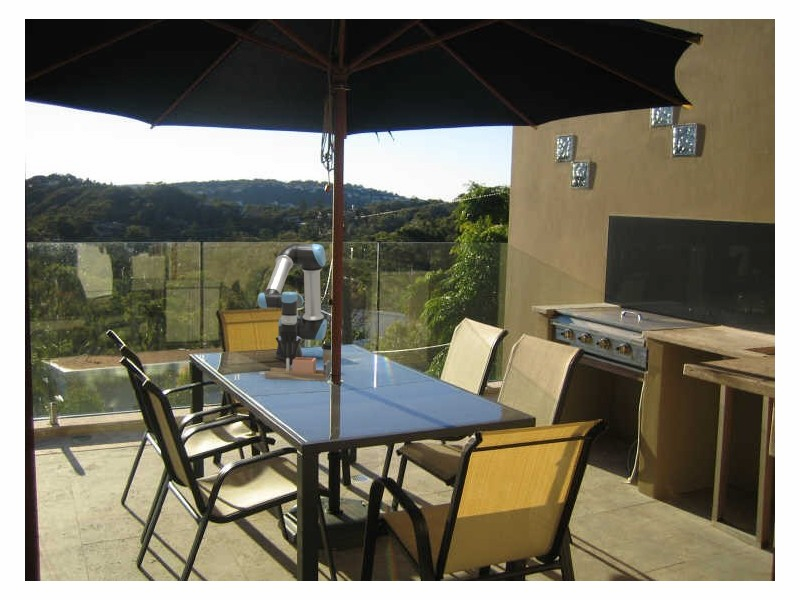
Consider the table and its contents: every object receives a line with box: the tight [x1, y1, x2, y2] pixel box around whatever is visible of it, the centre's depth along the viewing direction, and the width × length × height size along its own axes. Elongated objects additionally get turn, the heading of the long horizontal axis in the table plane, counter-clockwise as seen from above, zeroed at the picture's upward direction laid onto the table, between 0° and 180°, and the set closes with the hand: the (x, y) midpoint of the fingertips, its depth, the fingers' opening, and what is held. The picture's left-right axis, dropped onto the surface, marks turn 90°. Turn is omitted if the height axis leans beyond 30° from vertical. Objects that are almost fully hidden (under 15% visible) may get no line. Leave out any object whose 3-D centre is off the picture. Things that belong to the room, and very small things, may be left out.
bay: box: [264, 360, 331, 382], centre depth 406 cm, size 12×30×8 cm, turn 85°
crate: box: [291, 356, 317, 374], centre depth 406 cm, size 9×10×8 cm
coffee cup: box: [321, 342, 332, 372], centre depth 418 cm, size 9×9×15 cm
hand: (288, 370), depth 407 cm, fingers closed
